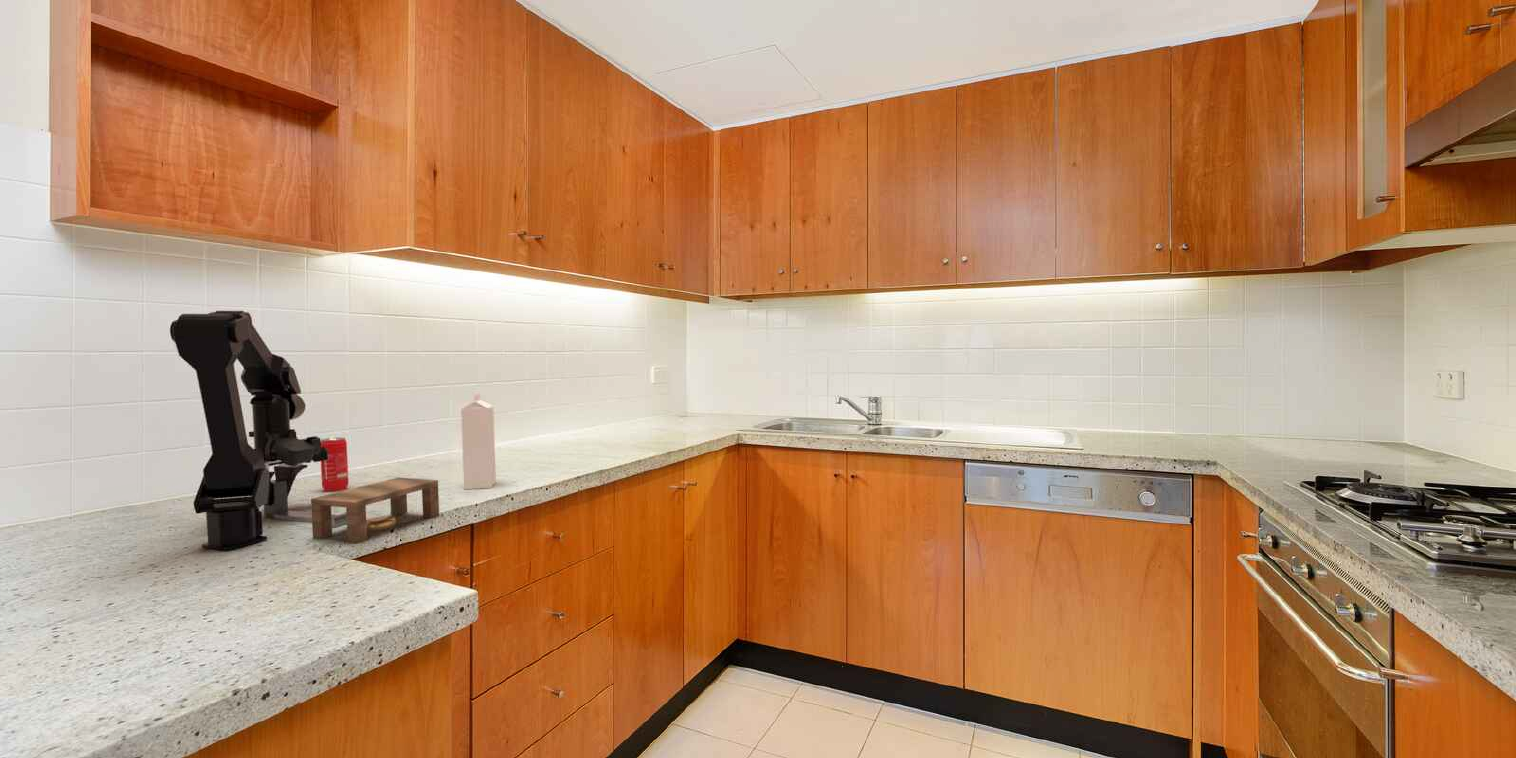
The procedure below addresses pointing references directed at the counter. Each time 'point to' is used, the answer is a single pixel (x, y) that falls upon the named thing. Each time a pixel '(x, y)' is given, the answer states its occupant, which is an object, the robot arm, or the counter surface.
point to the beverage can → (335, 465)
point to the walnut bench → (367, 495)
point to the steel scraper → (281, 511)
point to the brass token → (380, 522)
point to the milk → (478, 445)
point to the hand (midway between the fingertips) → (276, 503)
